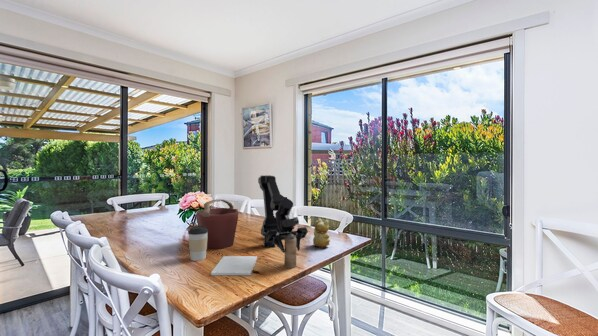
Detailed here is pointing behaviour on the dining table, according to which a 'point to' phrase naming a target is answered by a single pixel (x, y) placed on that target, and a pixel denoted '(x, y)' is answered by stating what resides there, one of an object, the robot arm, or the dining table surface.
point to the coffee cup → (198, 242)
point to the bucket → (218, 224)
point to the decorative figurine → (321, 234)
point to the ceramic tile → (235, 265)
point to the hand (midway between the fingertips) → (291, 251)
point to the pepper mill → (290, 251)
